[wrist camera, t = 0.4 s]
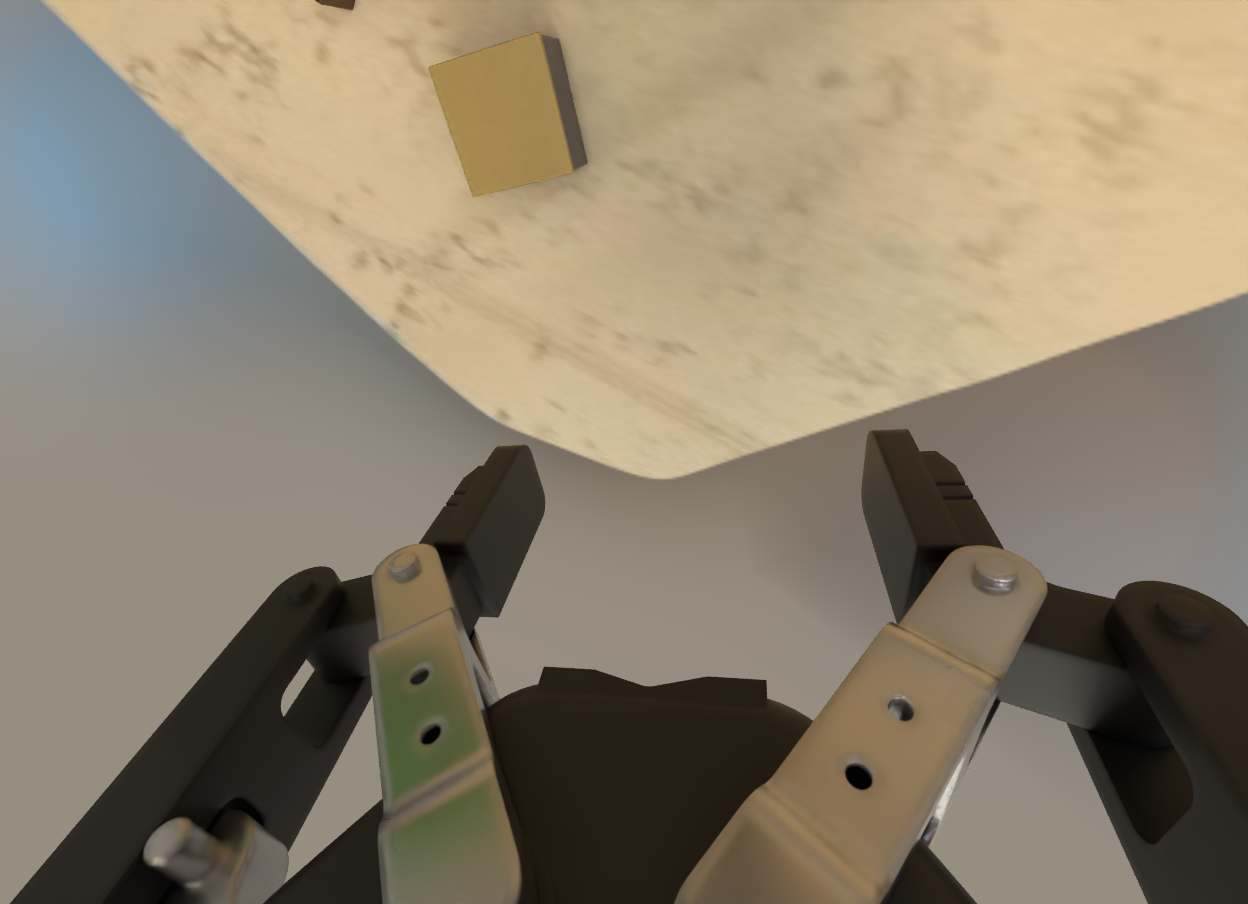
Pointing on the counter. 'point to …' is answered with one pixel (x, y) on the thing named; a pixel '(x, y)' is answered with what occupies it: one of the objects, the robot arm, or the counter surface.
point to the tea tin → (511, 113)
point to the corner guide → (338, 3)
